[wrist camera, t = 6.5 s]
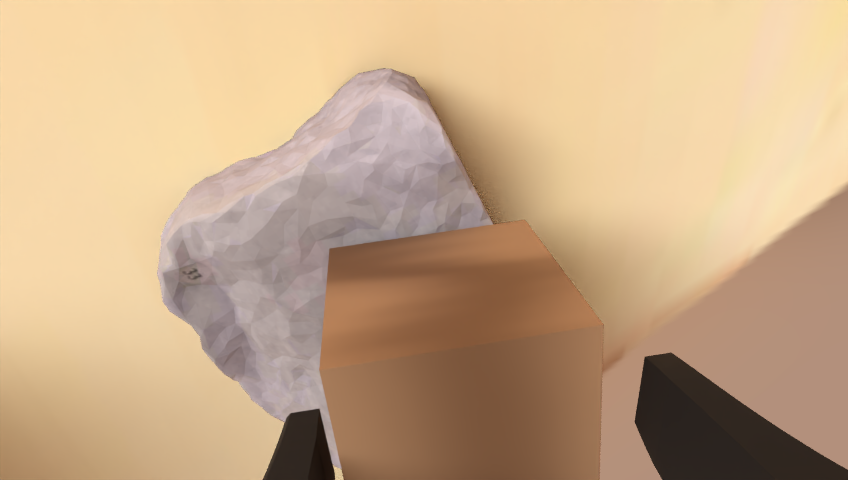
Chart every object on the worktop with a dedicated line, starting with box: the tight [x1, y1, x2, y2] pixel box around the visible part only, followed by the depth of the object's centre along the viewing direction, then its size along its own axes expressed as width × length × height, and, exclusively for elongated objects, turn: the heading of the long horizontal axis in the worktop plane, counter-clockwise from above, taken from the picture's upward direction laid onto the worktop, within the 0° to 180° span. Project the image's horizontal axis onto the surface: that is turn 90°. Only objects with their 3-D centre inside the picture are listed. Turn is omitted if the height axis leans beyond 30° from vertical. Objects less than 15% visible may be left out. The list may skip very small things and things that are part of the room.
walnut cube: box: [319, 220, 604, 480], centre depth 13 cm, size 5×5×5 cm
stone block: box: [157, 68, 493, 468], centre depth 18 cm, size 12×5×10 cm
